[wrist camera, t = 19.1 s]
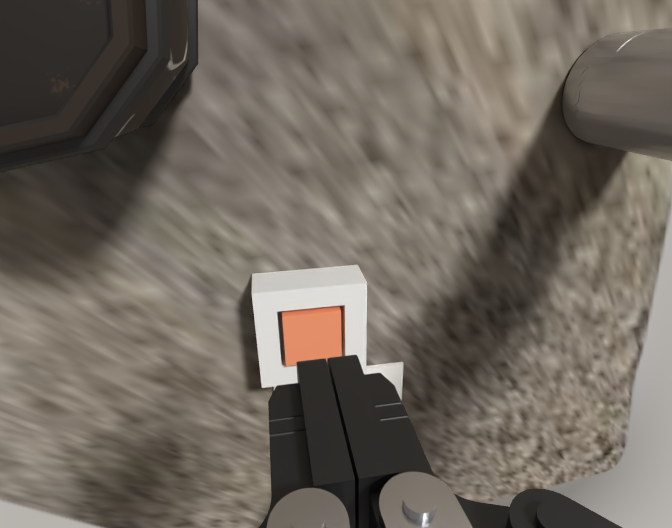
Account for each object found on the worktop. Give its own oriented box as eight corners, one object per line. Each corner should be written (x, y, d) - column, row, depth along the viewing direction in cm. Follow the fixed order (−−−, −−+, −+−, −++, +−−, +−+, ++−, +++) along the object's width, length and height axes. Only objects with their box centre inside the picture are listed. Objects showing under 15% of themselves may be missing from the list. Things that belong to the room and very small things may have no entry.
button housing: (357, 264, 42) (366, 282, 38) (357, 351, 46) (365, 375, 43) (252, 273, 41) (251, 293, 37) (261, 362, 45) (261, 388, 41)
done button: (335, 295, 42) (341, 311, 39) (336, 341, 44) (341, 359, 41) (280, 300, 41) (282, 316, 38) (284, 347, 43) (286, 365, 40)
